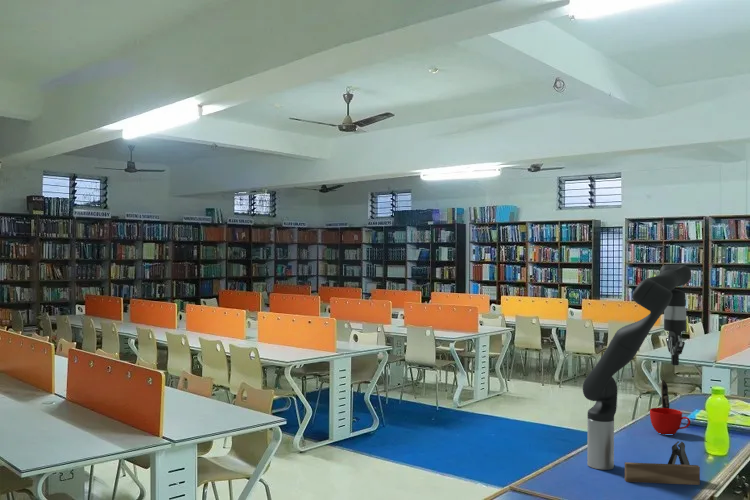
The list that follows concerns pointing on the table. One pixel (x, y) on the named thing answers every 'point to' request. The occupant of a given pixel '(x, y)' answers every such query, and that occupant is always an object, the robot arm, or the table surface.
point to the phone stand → (679, 454)
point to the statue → (664, 395)
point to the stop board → (662, 473)
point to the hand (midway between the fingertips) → (674, 364)
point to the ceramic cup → (667, 420)
